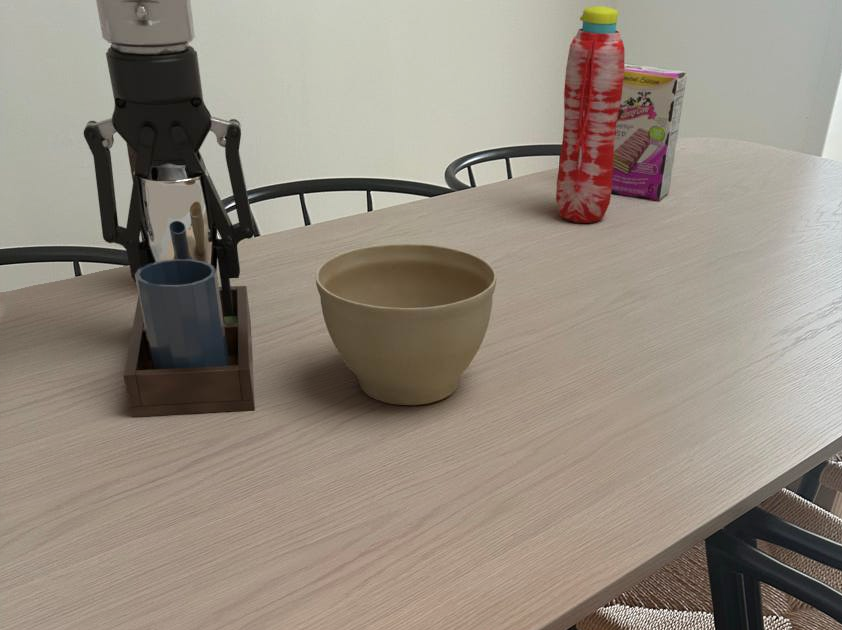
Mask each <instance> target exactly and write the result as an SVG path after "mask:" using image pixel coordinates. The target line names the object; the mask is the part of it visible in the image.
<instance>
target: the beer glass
mask: <svg viewBox="0 0 842 630" xmlns="http://www.w3.org/2000/svg"><path fill="white" fill-rule="evenodd" d="M134 172H135V171H134ZM207 172H208V173H209V171H208V169H207V167H206V168H205V174H206V175H207V176H208V173H207ZM205 174H201V175H199V176H196V177H193V178H192V176H191V175H190V173H189V171H188V169H187V167H186V165H181V166H177V165H173V164H169V163H167V164H164V165H161V166H151V167H150V173H149V179H146V178H143V177H141V176H139V175H136V176H135V177H136V183H137V194H138V204H139V212H140V219H141V229H142V234H143V238H144V241H145V244H146V248H147V250H148V254H149V256H150V259H151V262H152V263H154V262H158V261H163V260H172V259H192V260H198V261H203V262H206V263H208V264H211V265H213V266H214V268H215V269H216V271H217V272H218V258H217V251H216V247H217V245H218V239H219V238H218V235H219V234H218V230H217V228H216V226H215V224H214V220H213V214H212V208H211V203H210V198H209V194H208V189H207V185H206V180H205ZM223 321H224V323H225V320H224V317H223Z"/></svg>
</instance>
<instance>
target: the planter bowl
mask: <svg viewBox="0 0 842 630" xmlns="http://www.w3.org/2000/svg"><path fill="white" fill-rule="evenodd" d="M314 277H315V285H316V289H317V291H318V294H319V297H320V305H321V311H322V315H323V320H324V322H325V326H326V329H327V332H328V335H329V337H330V339H331V341H332V343H333V345H334V347H335V349H336V350H337V352H338V354H339V355H340V357H341V358H342V360H343V361H344V363H345V364H346V366H348V368H349V369H350V370H351V371H352V373H354V374H355V375H356V376H357V378H358V382H359V383H358V384H359V386H360V388H361V391H363V392H364V393H365V394H366V395H367V396H368V397H370V398H372V399H375V400H376V401H379V402H382V403H386V404H390V405H397V406H419V405H420V406H421V405H428V404H431V403H435V402H439V401H442V400H443V399H445V398H448V397H449V396H451V395H452V394H453V393H454V392H455V391H456V390H457V389H458V388H459V383H460V379H461V376H462V375H463V373H464V372H465V371H466V370H467V368H468V367H469V366H470V364H471V363H472V362H473V360H474V359H475V357H476V355H477V353H478V352H479V350H480V347H481V345H482V343H483V341H484V338H485V336H486V334H487V331H488V327H489V325H490V324H489V323H490V319H491V316H492V315H491V314H492V313H491V312H492V308H493V298H494V297H493V296H494V293H495V290H496V286H497V273H496V269H494V267H493V265H491V264H490V263H489V262H488V261H487V260H485V259H484V258H482V257H480V256H478V255H477V254H474V253H472V252H469V251H466V250H462V249H459V248H455V247H450V246H444V245H441V244H440V245H439V244H433V243H432V244H431V243H417V242H415V243H414V242H397V243H386V244H385V243H384V244H374V245H367V246H361V247H355V248H352V249H349V250H345V251H342V252H340V253H337V254H335V255H332V256H331V257H329V258H327V259H326V260H325V261H323V262H322V263H321V264H320V265H319V266H318V267H317V269H316V272H315V275H314Z"/></svg>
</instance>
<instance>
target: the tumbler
mask: <svg viewBox="0 0 842 630" xmlns="http://www.w3.org/2000/svg"><path fill="white" fill-rule="evenodd" d="M135 278H136V282H135V283H136V288H137V294H138V295H139V299H140V305H141V310H142V315H143V320H144V326H145V331H146V336H147V341H148V347H149V352H150V357H151V362H152V368H153V370H156V369H176V368H195V367H215V366H230V365H229V358H228V350H227V343H226V336H225V328H224V321H223V314H222V307H221V299H220V292H219V287H220V286H219V278H218V270H217V271H216V269H215V268H214V266H213V265H211V264H208V263H206V262H203V261H198V260H192V259H172V260H163V261H158V262H154V263H150V264H147V265H145V266H143V267H141V268H139V269H138V270H137V272H136V273H135Z"/></svg>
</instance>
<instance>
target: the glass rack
mask: <svg viewBox="0 0 842 630" xmlns="http://www.w3.org/2000/svg"><path fill="white" fill-rule="evenodd" d="M230 286H231V294H232V302H233V315H225V309H224V302H223V295H222V287H221V286H219V292H220V299H221V307H222V314H223V317H224V320H225V323H224V328H225V336H226V343H227V350H228V358H229V365H230V366H215V367H195V368H176V369H156V370H153V368H152V362H151V357H150V352H149V347H148V341H147V336H146V331H145V326H144V320H143V315H142V310H141V305H140V299H139V294H138V295H137V301H136V307H135V311H134V317H133V323H132V328H131V333H130V334H131V335H130V340H129V345H128V350H127V356H126V361H125V366H124V371H123V372H124V373H123V379H124V384H125V388H126V393H127V397H128V403H129V407H130V411H131V412H130V413H131V416H132V418H139V417H141V418H142V417H158V416H174V415H191V414H209V413H224V412H227V413H228V412H244V411H255V410H256V407H255V405H256V404H255V403H256V402H255V383H254V362H253V361H254V360H253V359H254V358H253V342H252V341H253V340H252V322H251V313H250V305H249V304H250V303H249V297H248V287H247V285H237V286H236V285H230Z"/></svg>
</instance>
